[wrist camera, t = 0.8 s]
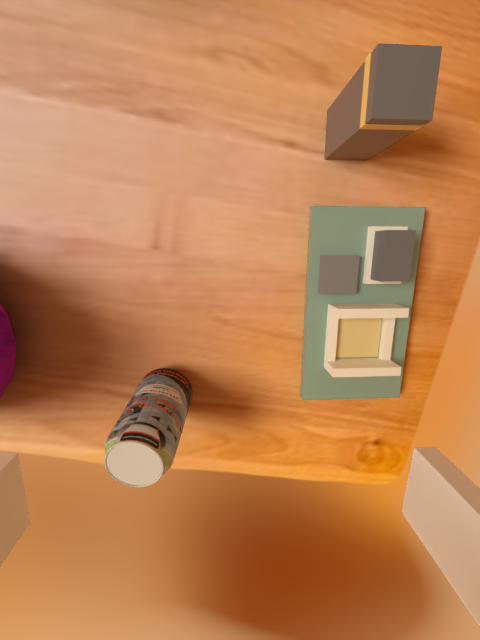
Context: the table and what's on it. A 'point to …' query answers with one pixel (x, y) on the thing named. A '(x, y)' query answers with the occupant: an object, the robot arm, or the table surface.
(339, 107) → the plug
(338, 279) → the board
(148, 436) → the beverage can
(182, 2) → the table surface
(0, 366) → the decorative plant
